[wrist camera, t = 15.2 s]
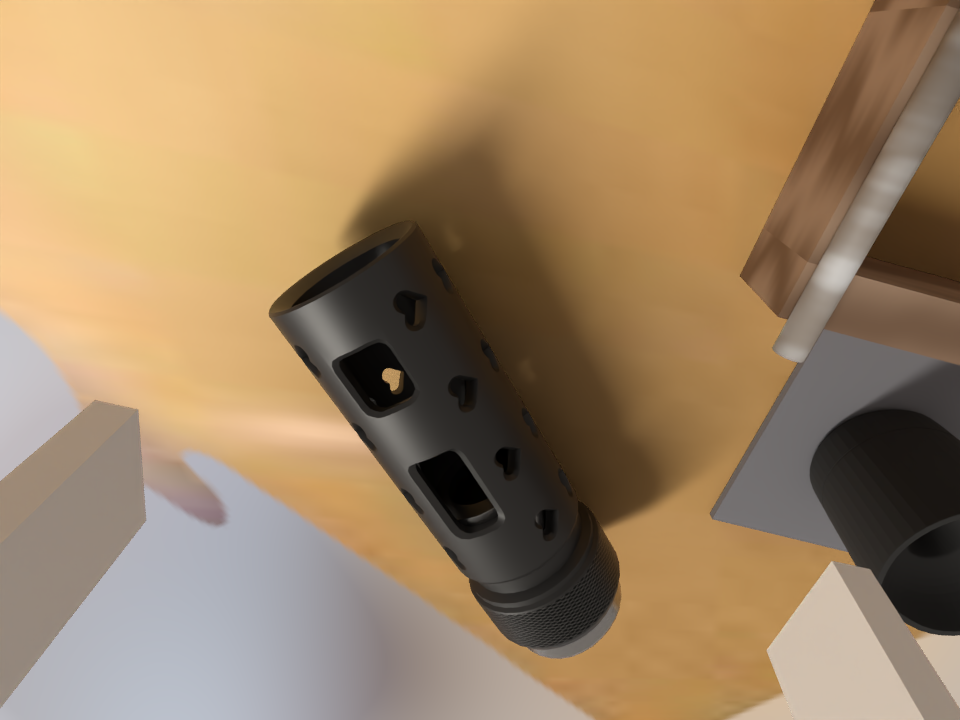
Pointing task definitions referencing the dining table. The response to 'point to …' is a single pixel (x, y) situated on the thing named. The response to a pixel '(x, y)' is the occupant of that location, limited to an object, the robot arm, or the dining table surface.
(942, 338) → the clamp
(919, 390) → the mat
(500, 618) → the muzzle brake
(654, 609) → the dining table surface
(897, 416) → the pen holder
